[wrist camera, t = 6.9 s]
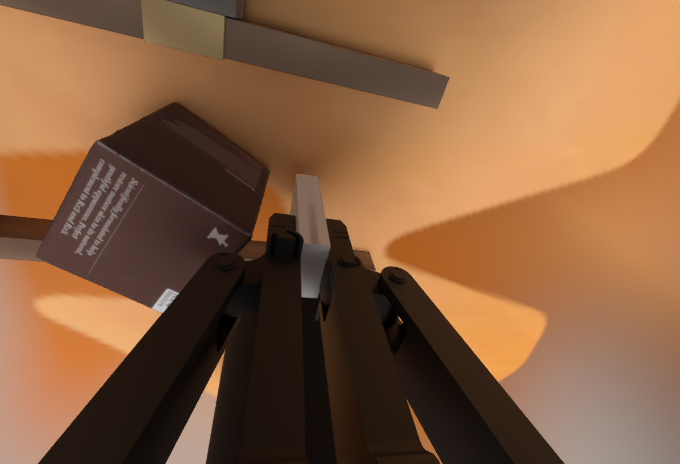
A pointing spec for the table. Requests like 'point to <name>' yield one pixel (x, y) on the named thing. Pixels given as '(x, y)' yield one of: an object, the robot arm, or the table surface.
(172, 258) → the box
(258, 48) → the brown angular bar frame
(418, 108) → the table surface
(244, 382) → the coffee jar
